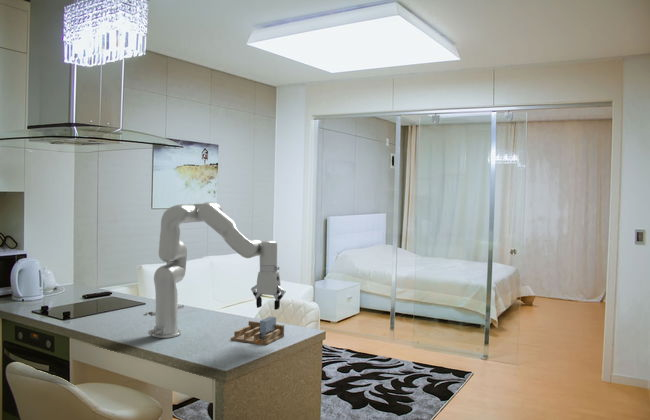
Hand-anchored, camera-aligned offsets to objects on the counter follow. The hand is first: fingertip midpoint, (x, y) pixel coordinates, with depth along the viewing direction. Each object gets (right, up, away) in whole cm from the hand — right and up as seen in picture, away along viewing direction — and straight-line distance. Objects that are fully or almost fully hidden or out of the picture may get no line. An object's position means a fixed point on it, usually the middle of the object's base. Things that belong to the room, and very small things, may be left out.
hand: (267, 308), depth 226 cm
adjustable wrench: (-61, -13, +53) cm, 82 cm away
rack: (-5, -14, +2) cm, 15 cm away
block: (0, -13, +1) cm, 13 cm away
